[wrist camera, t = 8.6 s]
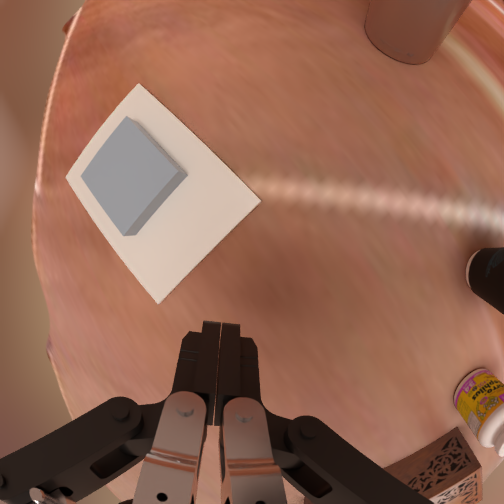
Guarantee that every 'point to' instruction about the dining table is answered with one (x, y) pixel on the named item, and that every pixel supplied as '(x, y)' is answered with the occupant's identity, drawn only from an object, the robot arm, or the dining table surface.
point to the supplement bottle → (483, 407)
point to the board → (169, 199)
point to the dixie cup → (487, 276)
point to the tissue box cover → (441, 471)
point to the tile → (131, 176)
